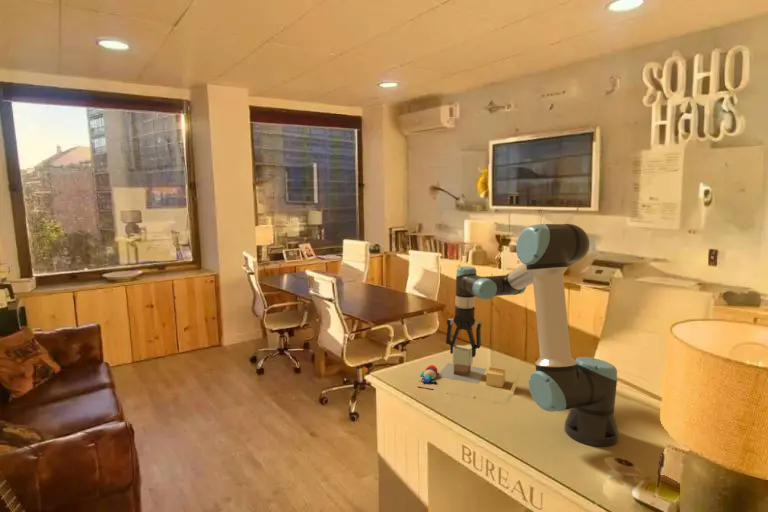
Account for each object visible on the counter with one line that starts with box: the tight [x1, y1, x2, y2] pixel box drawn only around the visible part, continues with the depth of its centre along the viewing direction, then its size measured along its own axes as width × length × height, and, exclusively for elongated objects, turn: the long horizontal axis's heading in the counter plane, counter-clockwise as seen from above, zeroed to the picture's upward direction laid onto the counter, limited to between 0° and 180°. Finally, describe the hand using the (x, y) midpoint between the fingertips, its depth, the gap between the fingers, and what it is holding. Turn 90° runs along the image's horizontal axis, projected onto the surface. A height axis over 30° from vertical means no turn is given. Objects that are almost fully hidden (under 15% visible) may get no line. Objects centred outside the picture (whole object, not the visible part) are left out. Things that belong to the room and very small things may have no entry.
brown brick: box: [454, 364, 472, 376], centre depth 191 cm, size 6×5×4 cm
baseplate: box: [436, 362, 487, 384], centre depth 191 cm, size 16×16×1 cm
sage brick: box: [452, 344, 472, 366], centre depth 190 cm, size 5×6×6 cm
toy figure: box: [417, 364, 438, 391], centre depth 185 cm, size 8×5×15 cm
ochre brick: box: [485, 367, 507, 388], centre depth 181 cm, size 6×6×6 cm
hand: (462, 362), depth 191 cm, fingers closed on sage brick, 6 cm apart
